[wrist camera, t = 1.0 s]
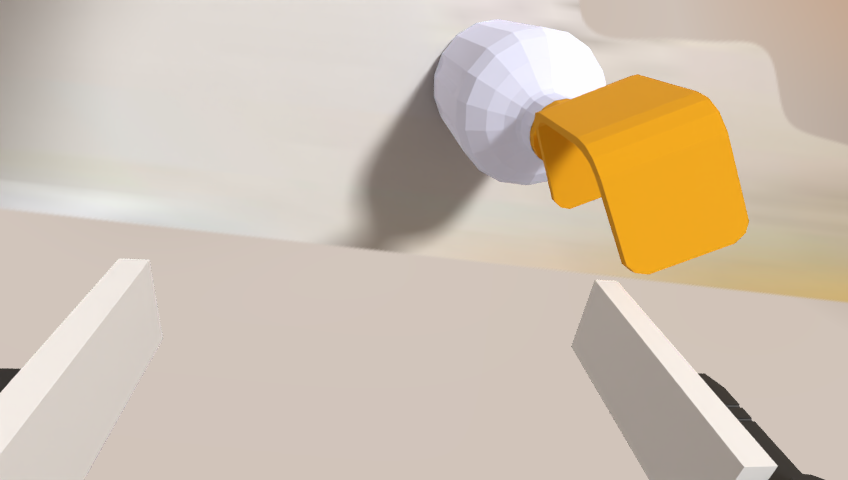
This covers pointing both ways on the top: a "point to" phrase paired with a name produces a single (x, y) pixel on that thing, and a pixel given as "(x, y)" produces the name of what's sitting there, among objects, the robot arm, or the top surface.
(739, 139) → the top surface
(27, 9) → the top surface
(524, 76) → the soap bottle
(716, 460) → the robot arm
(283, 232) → the top surface
